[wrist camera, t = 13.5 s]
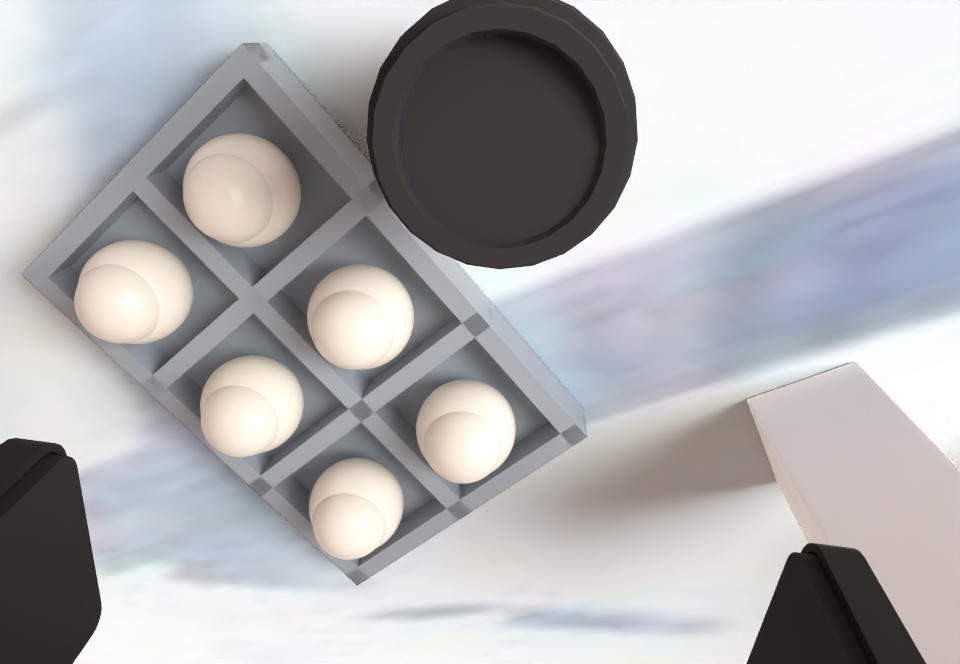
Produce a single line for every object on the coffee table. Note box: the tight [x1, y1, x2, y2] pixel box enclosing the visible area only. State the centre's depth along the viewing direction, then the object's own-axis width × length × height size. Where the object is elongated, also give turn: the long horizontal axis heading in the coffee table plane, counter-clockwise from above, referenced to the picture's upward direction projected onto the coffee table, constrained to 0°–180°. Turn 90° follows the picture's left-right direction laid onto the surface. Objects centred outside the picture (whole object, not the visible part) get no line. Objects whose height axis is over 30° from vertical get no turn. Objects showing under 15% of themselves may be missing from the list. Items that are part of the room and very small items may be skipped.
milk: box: [747, 362, 960, 664], centre depth 29 cm, size 6×6×22 cm
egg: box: [309, 457, 404, 560], centre depth 39 cm, size 5×5×6 cm
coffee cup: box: [367, 0, 638, 269], centre depth 27 cm, size 8×8×15 cm
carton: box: [21, 43, 587, 585], centre depth 36 cm, size 25×17×7 cm
